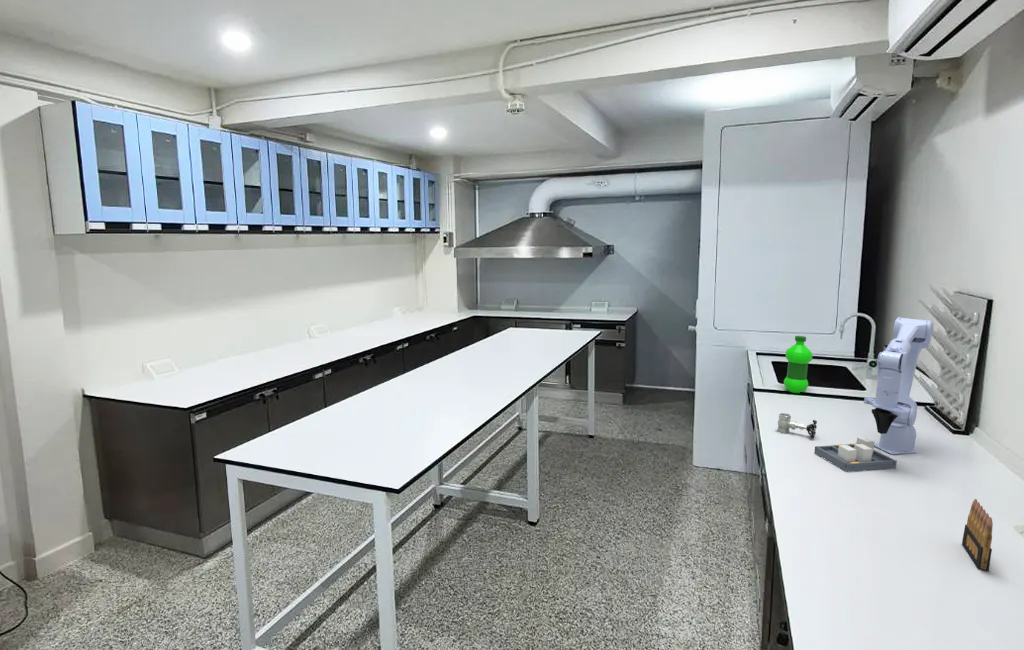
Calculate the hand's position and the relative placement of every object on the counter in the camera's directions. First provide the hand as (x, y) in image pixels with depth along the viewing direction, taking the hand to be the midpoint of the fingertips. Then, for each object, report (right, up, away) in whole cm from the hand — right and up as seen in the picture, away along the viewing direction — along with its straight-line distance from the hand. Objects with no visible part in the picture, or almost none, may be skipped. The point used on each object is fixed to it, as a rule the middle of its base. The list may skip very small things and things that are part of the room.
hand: (882, 432), depth 171 cm
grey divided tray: (-6, -10, +4) cm, 12 cm away
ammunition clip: (-10, -19, -47) cm, 51 cm away
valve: (-13, -6, +26) cm, 30 cm away
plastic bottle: (+13, +3, +78) cm, 79 cm away
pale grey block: (-1, -8, +7) cm, 10 cm away
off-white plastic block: (-11, -9, 0) cm, 14 cm away
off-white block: (-6, -9, +1) cm, 10 cm away
